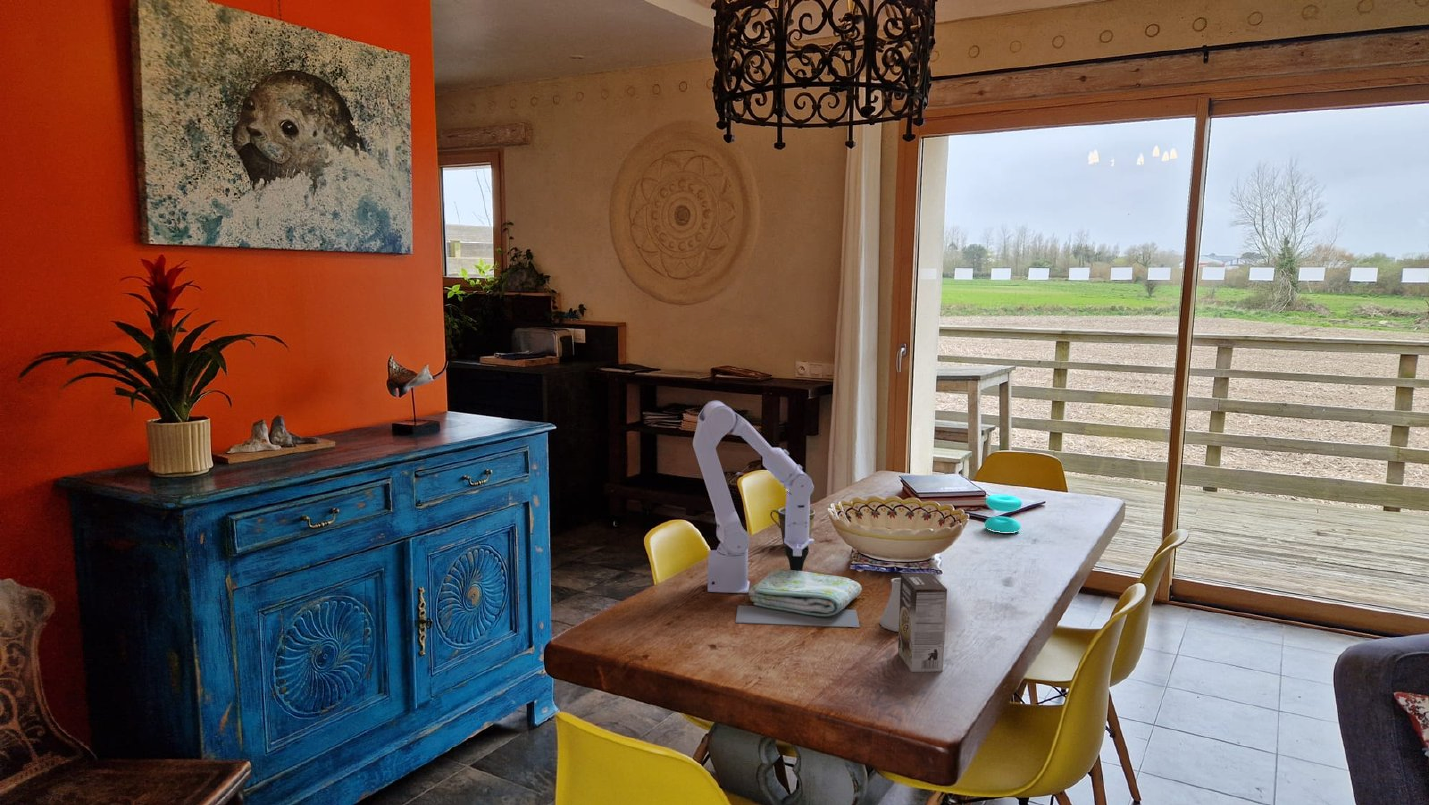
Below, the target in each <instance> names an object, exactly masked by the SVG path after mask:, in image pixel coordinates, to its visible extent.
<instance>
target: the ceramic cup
mask: <svg viewBox="0 0 1429 805" xmlns="http://www.w3.org/2000/svg"><path fill="white" fill-rule="evenodd" d="M773 513H776V514H777V515H778V520H779V522H778V521H777V520H776V519H775V518H774V517H773ZM785 515H786V506H785V507H781V508H779V509H772V510H771V512H770V515H769V516H770V518H771V520H772V521H773V522H774V523H775V525H776V526H777V527H778V528H779V529H780V531H781V538H782V547H784V548H785V546H788V545H787V544H785V543H784V538H785ZM815 515H816V511H815V510H814V509H812V508H810V524H809V538H810V539H811V535H812V530H813V526H814V523H815V522H814V521H815ZM807 546H808V547H809V546H810V544H808V545H807Z"/></svg>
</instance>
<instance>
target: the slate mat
mask: <svg viewBox="0 0 1429 805" xmlns="http://www.w3.org/2000/svg"><path fill="white" fill-rule="evenodd" d="M735 616H736V617H735V624H748V625H749V624H753V625H772V626H773V625H775V626H777V625H779V626H780V625H781V626H800V627H801V626H802V627H803V626H805V627H824V628H825V627H826V628H827V627H828V628H847V627H853V628H855V629H860V621H859V617H858V612H857V610H856V609H845V608H843V609H842V610H841V611H839V612H838V613H837V614H835V615H831V616H813V615H806V614H801V613H795V612H789V611H784V610H777V609H771V608H766V607H761V606H756V605H741V604H740V605H737V609H736V615H735Z"/></svg>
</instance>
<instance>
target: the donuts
mask: <svg viewBox="0 0 1429 805" xmlns="http://www.w3.org/2000/svg"><path fill="white" fill-rule="evenodd" d="M1022 503H1023V502H1022V500H1021V499H1020V498H1019V497H1017V496H1014V495H1010V494H992V495H991V494H990V495H988V497H986V500H985V504H986V505H987V506H988V508H990V509H991V510H994V511H998V512H1004V513H1005V512H1007V513H1009V512H1015V511H1018V510H1019V509H1020V508H1021V507H1022V506H1023V504H1022ZM985 527H987V528H988V529H991V530H994V531H1000V532H1014V531H1018V530H1019V529H1020V530H1021V524H1020V523H1019V521H1018V520H1016V519H1014V518H1012V517H1008V516H1000V515H999V516H992V517H989V518H987V519H986V520H985V522H984V528H985ZM1020 530H1019V531H1020ZM1019 531H1018V532H1019Z"/></svg>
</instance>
